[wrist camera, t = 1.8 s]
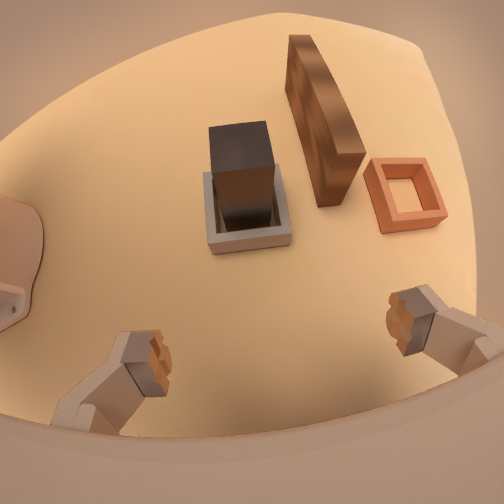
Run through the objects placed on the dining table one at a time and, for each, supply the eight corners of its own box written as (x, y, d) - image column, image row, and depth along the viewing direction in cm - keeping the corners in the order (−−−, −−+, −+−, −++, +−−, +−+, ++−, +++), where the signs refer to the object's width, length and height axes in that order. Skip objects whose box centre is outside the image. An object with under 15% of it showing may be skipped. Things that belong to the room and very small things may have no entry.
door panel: (354, 203, 29) (384, 152, 21) (317, 206, 29) (338, 153, 21) (313, 88, 35) (323, 35, 26) (285, 89, 35) (289, 34, 26)
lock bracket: (434, 226, 28) (448, 215, 26) (381, 233, 28) (393, 221, 25) (414, 171, 31) (425, 157, 28) (363, 173, 31) (371, 158, 28)
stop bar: (269, 231, 29) (275, 165, 18) (228, 236, 29) (211, 173, 18) (263, 195, 30) (265, 120, 19) (224, 200, 30) (208, 127, 19)
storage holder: (288, 244, 28) (292, 233, 25) (212, 254, 28) (207, 243, 25) (276, 180, 30) (278, 163, 27) (207, 188, 30) (203, 172, 27)
